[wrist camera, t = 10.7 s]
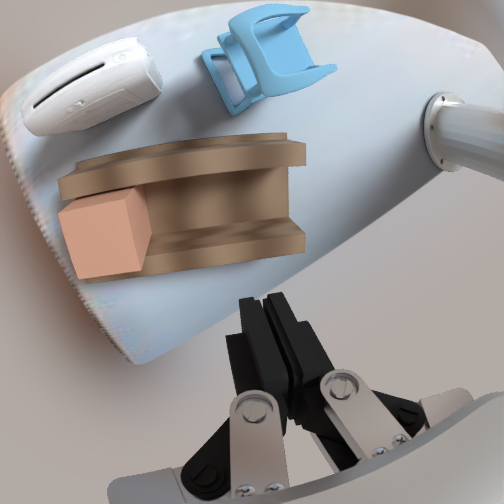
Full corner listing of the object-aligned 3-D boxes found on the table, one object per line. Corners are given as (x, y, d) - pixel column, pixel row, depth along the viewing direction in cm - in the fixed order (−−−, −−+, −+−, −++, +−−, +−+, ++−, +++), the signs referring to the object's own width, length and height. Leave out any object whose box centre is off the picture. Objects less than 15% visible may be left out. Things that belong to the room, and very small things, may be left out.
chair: (301, 90, 26) (365, 77, 15) (230, 117, 26) (259, 112, 15) (273, 29, 22) (322, -14, 12) (199, 54, 22) (208, 10, 12)
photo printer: (157, 59, 21) (136, 17, 11) (169, 94, 23) (153, 73, 13) (68, 101, 21) (3, 97, 10) (79, 135, 23) (17, 149, 12)
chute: (283, 132, 28) (305, 135, 22) (285, 235, 33) (304, 258, 28) (79, 161, 24) (55, 172, 19) (103, 261, 29) (89, 289, 24)
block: (142, 177, 26) (124, 198, 19) (151, 232, 28) (141, 270, 21) (88, 188, 25) (57, 213, 18) (101, 241, 27) (78, 279, 20)
